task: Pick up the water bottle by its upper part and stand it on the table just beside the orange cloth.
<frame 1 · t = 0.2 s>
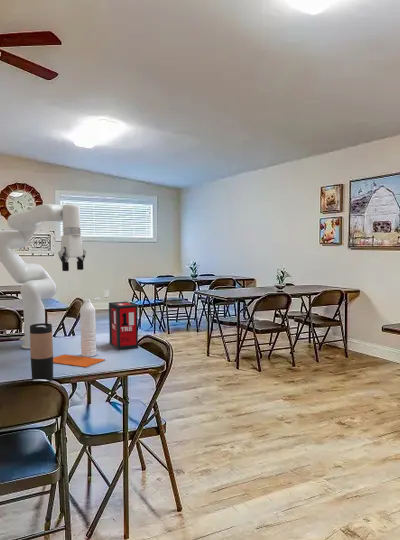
hand: (73, 270, 210), 37 cm above the table, tool pointing down, fingers open, 9 cm apart
cleaning product box: (123, 345, 223), on the table
travel mug: (42, 380, 168), on the table
water bottle: (91, 355, 204), on the table
cloth: (74, 361, 195), on the table
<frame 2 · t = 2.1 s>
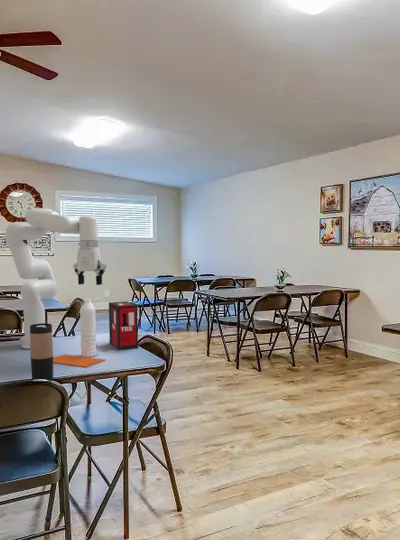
hand: (90, 284, 202), 31 cm above the table, tool pointing down, fingers open, 9 cm apart
nothing on the table moved.
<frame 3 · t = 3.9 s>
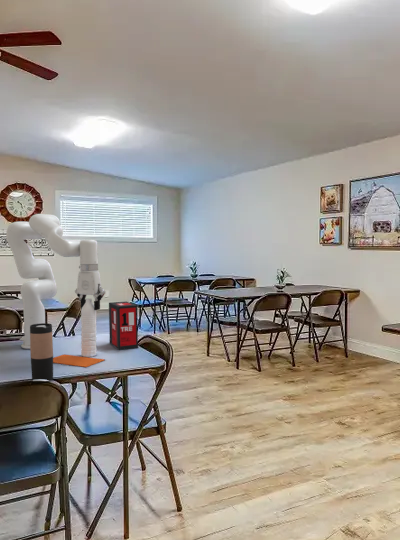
hand: (90, 308, 203), 20 cm above the table, tool pointing down, fingers closed on water bottle, 6 cm apart
water bottle: (91, 355, 204), on the table, touching gripper
everything else where it was.
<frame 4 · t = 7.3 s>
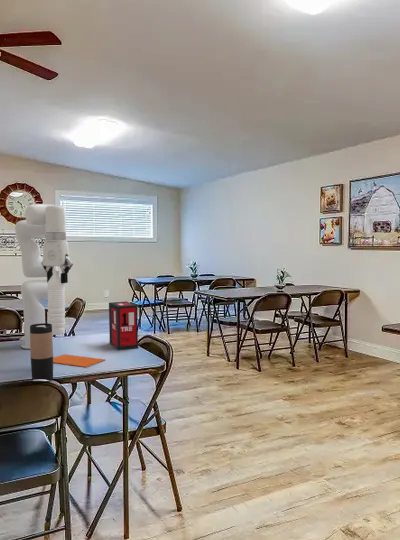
hand: (57, 282, 185), 34 cm above the table, tool pointing down, fingers closed on water bottle, 6 cm apart
water bottle: (59, 333, 186), point 13 cm above the table, touching gripper
everything else where it was.
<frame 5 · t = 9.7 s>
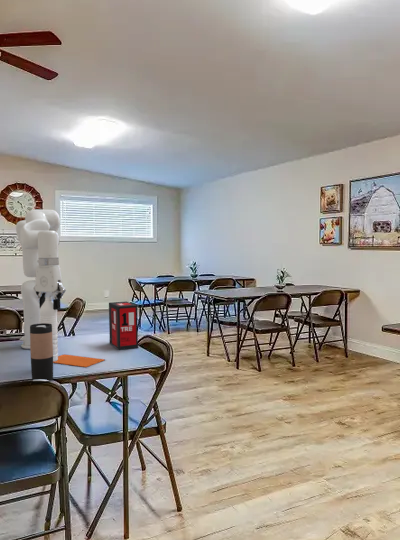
hand: (50, 308, 181), 24 cm above the table, tool pointing down, fingers closed on water bottle, 6 cm apart
water bottle: (52, 360, 182), point 3 cm above the table, touching gripper
everything else where it was.
when the fingers open (20 cm above the table, at t = 11.1 s): water bottle stays where it is, on the table.
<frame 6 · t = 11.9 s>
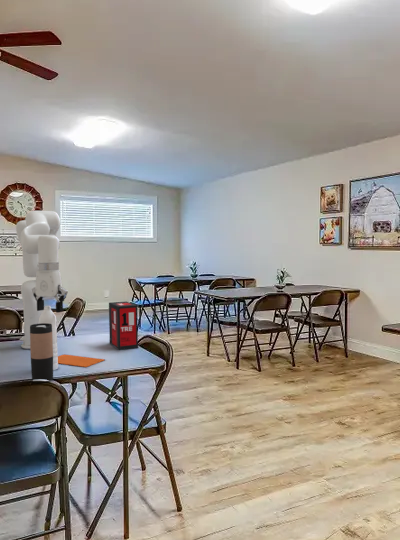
hand: (49, 311, 182), 23 cm above the table, tool pointing down, fingers open, 9 cm apart
water bottle: (52, 369, 183), on the table
everything else where it was.
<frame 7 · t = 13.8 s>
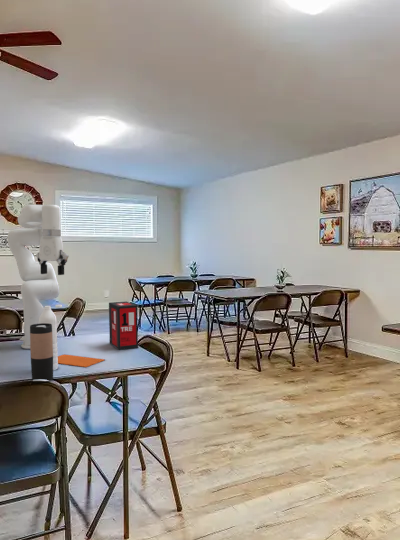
hand: (52, 274, 199), 36 cm above the table, tool pointing down, fingers open, 9 cm apart
nothing on the table moved.
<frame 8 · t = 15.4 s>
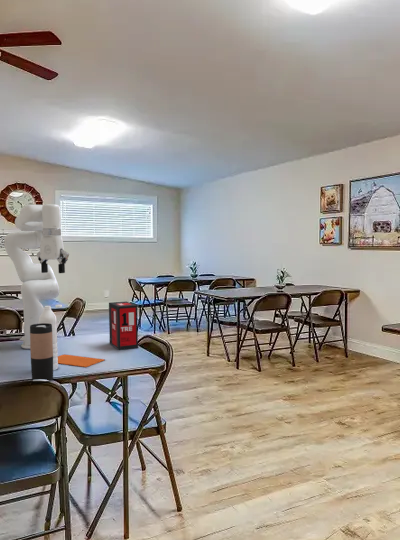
hand: (53, 272, 202), 36 cm above the table, tool pointing down, fingers open, 9 cm apart
nothing on the table moved.
at the end: water bottle inside the target area on the table beside the cloth (0.3 cm from its centre), on the table; water bottle tilted 0°; the gripper is holding nothing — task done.
